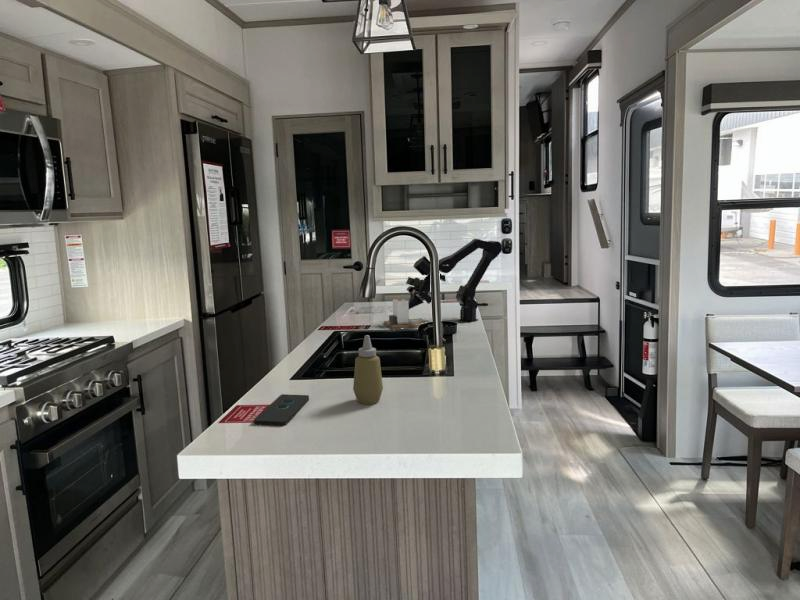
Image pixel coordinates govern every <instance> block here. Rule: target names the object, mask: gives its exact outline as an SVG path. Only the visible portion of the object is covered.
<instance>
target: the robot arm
mask: <svg viewBox="0 0 800 600" xmlns="http://www.w3.org/2000/svg"><path fill="white" fill-rule="evenodd" d="M478 249H481V250H482V252H481V258H480V259H479V262H478V263H477V265H476V267H475V268H474V270H473V272H472V274H471V275H470V277H469V278H468V281H467V283H466V284H465V285H462V284H461V285H460V286H459V288H458V290H457V291H456V292H455V293H456V295H455V299H456V301H457V302H458V303H459V306H460V312H459V317H460V318H459V319H458V321H460V322H468V323H473V322H476V321H478V320H479V318H477V309H478V307H479V303H478V302H477V301H476V299H475V296H476V290H477V288H478V285H479V283H480V282H481V280H482V278H483V277H484V275H485V273H486V272H487V270H488V268H489V266H490V265H491V263H492V262H493V261H494V260H495V259H496V258H498V257H499V255H500V254H501V252H502V251H503V246H502V243H501V242H500V241H497V240H488V241H487V240H482V239H480V238H473V239H472V240H471V241H470V242H468V243H467V244H465V245H464V246H462V247H460V248H459V249H458V250H457V251H455V252H453V253H452V254H449V255H447V256H444V257H442V258H439V259H438V260H439V271H440V272H439V271H438V272H439V273H440V282H446V275H445V274H449V273H450V272H451V271H452V270H453V269H455V268H456V266H457V264H458V263H459V262H461V261H462V260H464V259H465V258H467V257H468V256H469V255H471V254H472V253H474V252H475V251H477V250H478ZM430 262H431V261H430V260H429V259H428V257H427V256H425V255H423V256H422V257H421V258H419V259H418V260H416V261H415V263H414V264H413V268H414V269H415V270H416V271H417V272H418V273H419V274H420V275H421V276H425V277H424V279H421V278H419V277H412V276H411V277H410V276H408V277H407V279H406V282H405V284H406V285H409V286H407V287H406V291H407V292H408V293H409V296H410V297H409V300H408V301H409V310H411V309H412V308H415V307H417V306H419V305H421V304H424V301H425V302H426V303H427V304H428V305H430V304H431V303H432V301H431V297H432V296H431V295H429V294H430V293H431V291H430ZM441 273H443V274H441Z"/></svg>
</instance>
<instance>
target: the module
mask: <svg viewBox="0 0 800 600" xmlns="http://www.w3.org/2000/svg"><path fill="white" fill-rule="evenodd" d="M409 311H410V309H409V300H407V299H405V298H402V297H396V299H394V298H392V315H394V316H396V317H397V324H409V319H410V318H409V317H410V314H409V313H410V312H409Z"/></svg>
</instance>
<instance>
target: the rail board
mask: <svg viewBox="0 0 800 600" xmlns="http://www.w3.org/2000/svg"><path fill="white" fill-rule="evenodd" d="M425 322H430V321H429V319H427V318H422V317H421V318H409V324H397V317H396V316H394V315H393V314H390V315H388V320H384V321H383V325H385V324H386V325H385V326H387V327H388V326H389V327H388V328H389V329H391V328H392V329H391V330H393V329H397V330H402V329H401V328H410V329H418V328H417V327H418V326H419V325H420V324H421V323H425Z"/></svg>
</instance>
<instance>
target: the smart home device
mask: <svg viewBox="0 0 800 600" xmlns="http://www.w3.org/2000/svg"><path fill="white" fill-rule="evenodd" d="M309 400H310V395H309V394H307V395H306V394H286V393H285V394H284V393H283V394H280V395H279V396H278V397H276V399H275V400H274V401H272V402H271V403H270V404H269V405H268V406H267V407H266V408H265V409H264V410H262V411H261V412H260V414H258V415H257V416H256V417H255V418H254V419H253V421H254V425H255V426H269V427H270V426H272V427H273V426H274V427H285V426H288V424H289V423H290V422H291V420H293V418H295V416H296V415H297V414H298V413H299V412H300V411H301V409H303V407H304V406H305V405H306V404H307V403H308V402H309Z"/></svg>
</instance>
